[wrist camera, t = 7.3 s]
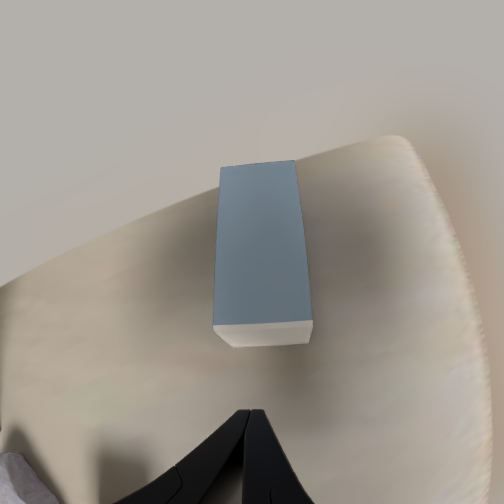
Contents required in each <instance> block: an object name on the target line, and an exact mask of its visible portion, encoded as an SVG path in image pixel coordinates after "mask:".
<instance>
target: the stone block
mask: <svg viewBox="0 0 504 504" xmlns="http://www.w3.org/2000/svg"><path fill="white" fill-rule="evenodd" d="M0 504H60V502H59V501H58V500H57V498H56V497H55V496H54V495H53V494H52V493H51V492H50V490H49V489H48V488H47V487H46V485H44V484H43V483H42V482H41V481H40V479H39V478H38V476H37V475H36V473H35V472H34V470H33V469H32V468H31V466H30V465H29V464H28V463H27V461H26V460H25V458H24V457H23V455H22V454H19V453H10V452H7V453H0Z"/></svg>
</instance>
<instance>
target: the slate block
mask: <svg viewBox="0 0 504 504" xmlns="http://www.w3.org/2000/svg"><path fill="white" fill-rule="evenodd" d="M312 328H313V319H312V306H311V295H310V284H309V274H308V264H307V255H306V245H305V237H304V228H303V220H302V212H301V204H300V197H299V189H298V182H297V175H296V168H295V162H294V160H291V161H278V162H267V163H256V164H247V165H239V166H229V167H221V171H220V185H219V201H218V218H217V236H216V257H215V281H214V311H213V331H214V332H215V333H216V334H217V335H218V336H220V337H221V338H222V339H223V340H224V341H226V342H227V343H228V344H229V345H230V346H232V347H255V346H276V345H292V344H306V343H309V340H310V336H311V332H312Z"/></svg>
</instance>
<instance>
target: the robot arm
mask: <svg viewBox="0 0 504 504" xmlns="http://www.w3.org/2000/svg"><path fill="white" fill-rule="evenodd" d="M241 503H242V504H315V503H314V502H313V501H312V500H311V498H310V497H309V496H308V494H307V493H306V491H305V490H304V488H303V487H302V485H301V483H300V482H299V480H298V478H297V476H296V474H295V472H293V469H292V467H291V465H290V463H289V461H288V459H287V457H286V455H285V453H284V451H283V449H282V447H281V445H280V443H279V441H278V439H277V437H276V435H275V433H274V431H273V428H272V426H271V424H270V422H269V420H268V418H267V416H266V414H265V412H264V410H263V409H253V410H251V411H250V410H249V409H248V410H238V411H236V412H235V413H234V414H233V415H232V416H231V417H230V418H229V419H228V420H227V421H226V422H225V423H223V424H222V425H221V426H220V427H219V428H218V429H217V430H216V431H215V432H213V433H212V434H211V435H210V436H209V437H208V438H207V439H205V440H204V441H203V442H202V443H201V444H200V445H199V446H197V447H196V448H195V449H194V450H193V451H191V452H190V453H189V454H188V455H187V456H185V457H184V458H183V459H182V460H181V461H179V462H178V463H177V464H176V465H175V466H173V467H171V468H170V469H169V470H167V471H166V472H165V473H163V474H162V475H161V476H159V477H158V478H157V479H155V480H154V481H152V482H151V483H149V484H147V485H146V486H144V487H142V488H141V489H139V490H137V491H135V492H134V493H132V494H130V495H128V496H126V497H124V498H122V499H121V500H119V501H117V502H115V503H113V504H241Z"/></svg>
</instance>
